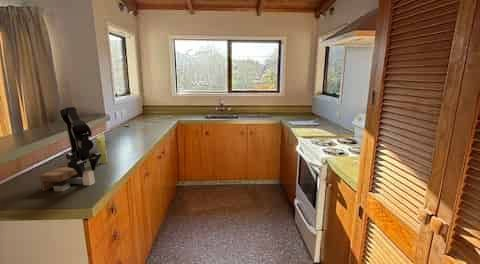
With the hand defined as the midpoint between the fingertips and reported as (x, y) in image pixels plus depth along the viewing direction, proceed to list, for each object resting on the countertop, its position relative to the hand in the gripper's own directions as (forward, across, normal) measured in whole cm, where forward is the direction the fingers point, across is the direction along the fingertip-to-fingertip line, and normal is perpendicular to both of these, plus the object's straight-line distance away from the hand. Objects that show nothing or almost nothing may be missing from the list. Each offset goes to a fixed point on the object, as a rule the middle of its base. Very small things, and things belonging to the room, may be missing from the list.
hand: (87, 174), depth 144 cm
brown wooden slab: (+6, +4, -13) cm, 15 cm away
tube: (+6, -33, -15) cm, 37 cm away
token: (+6, +8, -10) cm, 14 cm away
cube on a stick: (+6, 0, -6) cm, 8 cm away
